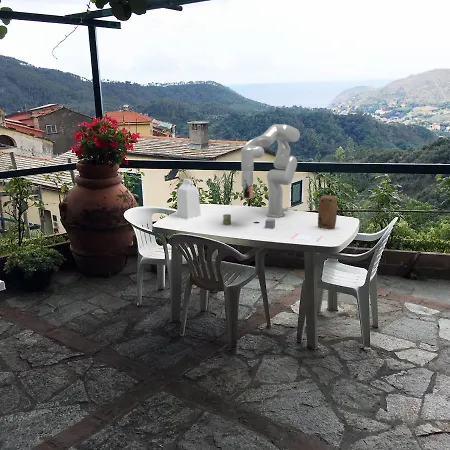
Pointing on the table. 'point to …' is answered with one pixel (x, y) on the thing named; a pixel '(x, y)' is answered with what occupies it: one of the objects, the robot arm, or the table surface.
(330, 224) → the block
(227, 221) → the olive cylinder
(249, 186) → the terracotta block
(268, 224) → the grey cube
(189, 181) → the milk
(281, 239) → the table surface
